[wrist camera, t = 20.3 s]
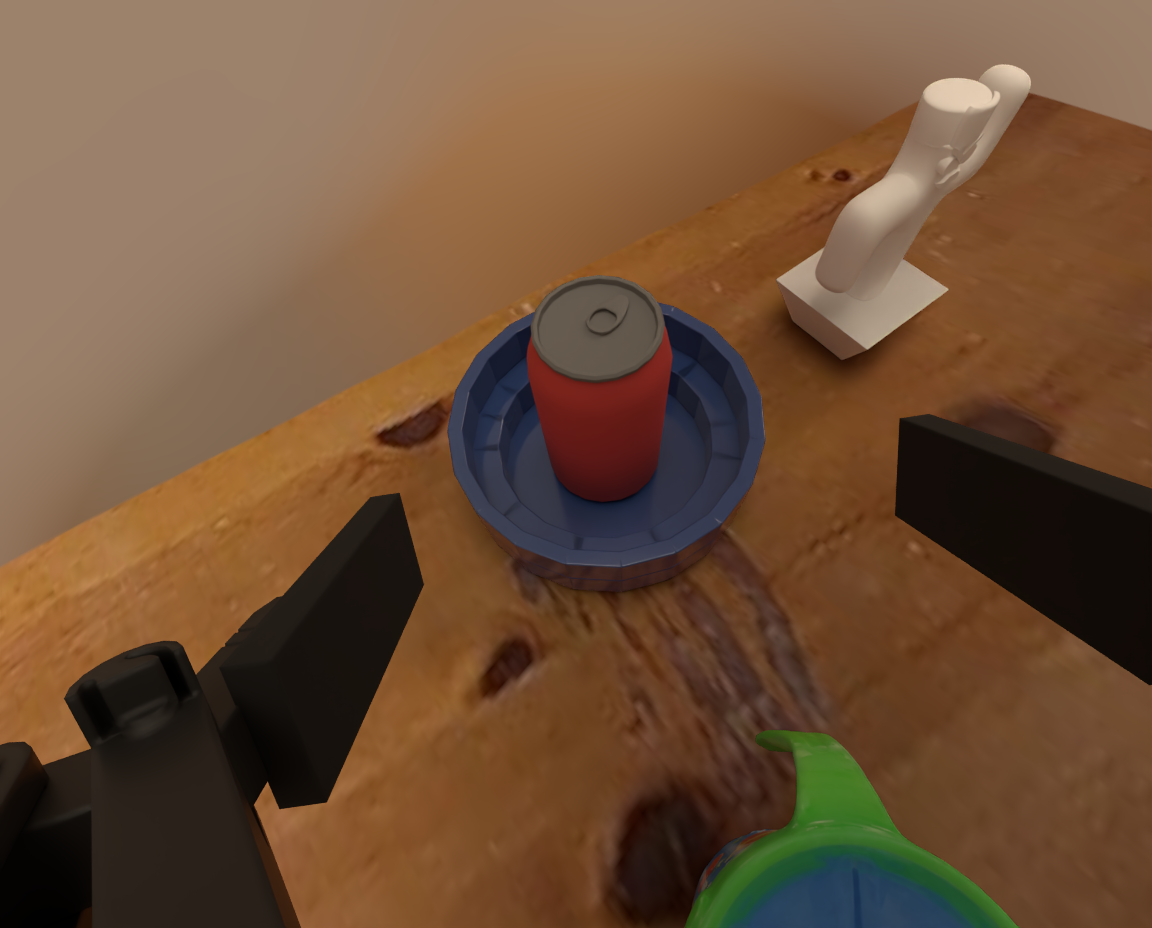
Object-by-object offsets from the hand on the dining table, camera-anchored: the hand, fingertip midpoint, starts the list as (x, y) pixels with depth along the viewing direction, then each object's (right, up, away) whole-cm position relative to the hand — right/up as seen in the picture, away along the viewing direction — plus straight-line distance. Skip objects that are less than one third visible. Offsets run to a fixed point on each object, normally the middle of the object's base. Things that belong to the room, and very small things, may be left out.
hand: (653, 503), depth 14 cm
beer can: (0, +1, +19) cm, 19 cm away
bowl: (0, +1, +19) cm, 19 cm away
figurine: (+16, +10, +23) cm, 30 cm away
